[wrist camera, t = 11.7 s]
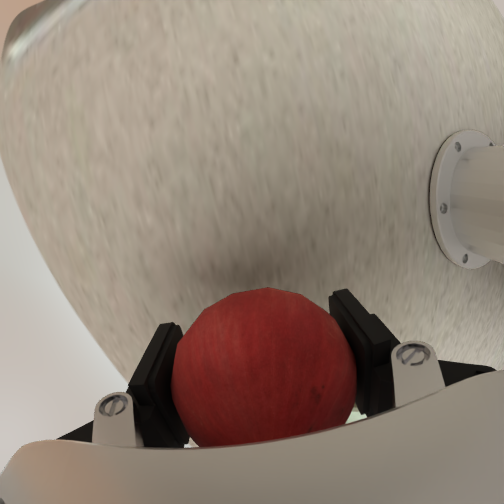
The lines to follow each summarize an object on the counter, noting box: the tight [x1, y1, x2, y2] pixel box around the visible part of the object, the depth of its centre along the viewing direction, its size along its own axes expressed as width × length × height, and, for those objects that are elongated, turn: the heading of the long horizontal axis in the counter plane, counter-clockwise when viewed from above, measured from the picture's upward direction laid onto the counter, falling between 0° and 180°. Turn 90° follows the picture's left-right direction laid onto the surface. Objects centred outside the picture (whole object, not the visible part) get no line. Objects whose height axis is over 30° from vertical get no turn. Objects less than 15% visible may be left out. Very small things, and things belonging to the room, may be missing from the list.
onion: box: [170, 287, 357, 447], centre depth 8 cm, size 6×6×8 cm
